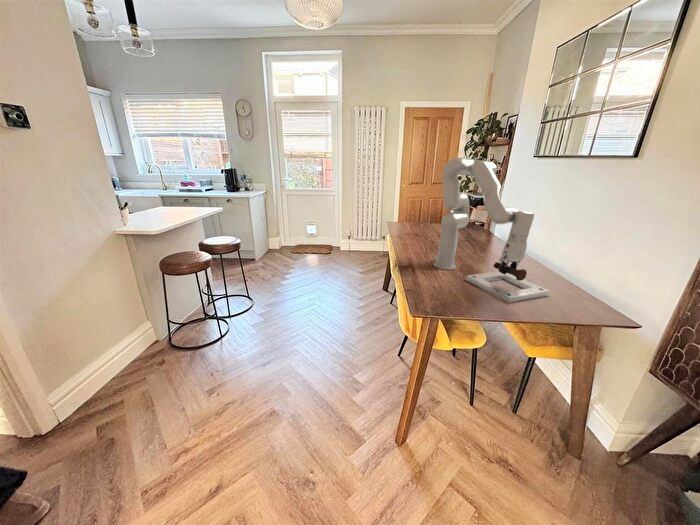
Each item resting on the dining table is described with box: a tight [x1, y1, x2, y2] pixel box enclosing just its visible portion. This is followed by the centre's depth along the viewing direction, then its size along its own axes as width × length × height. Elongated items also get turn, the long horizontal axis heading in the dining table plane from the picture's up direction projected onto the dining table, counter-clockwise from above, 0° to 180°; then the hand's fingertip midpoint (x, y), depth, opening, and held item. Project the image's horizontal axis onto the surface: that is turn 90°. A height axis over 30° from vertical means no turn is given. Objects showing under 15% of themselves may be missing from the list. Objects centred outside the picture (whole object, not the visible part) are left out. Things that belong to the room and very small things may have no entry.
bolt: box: [493, 261, 528, 281], centre depth 133 cm, size 6×5×15 cm
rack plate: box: [465, 270, 551, 304], centre depth 135 cm, size 26×26×3 cm
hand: (507, 272), depth 134 cm, fingers closed on bolt, 5 cm apart
